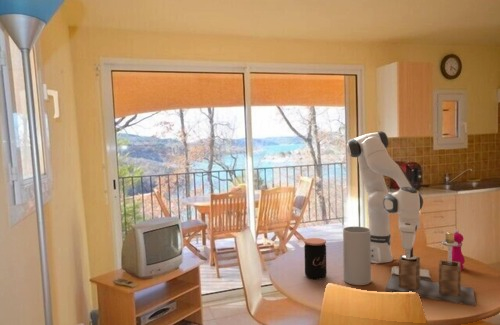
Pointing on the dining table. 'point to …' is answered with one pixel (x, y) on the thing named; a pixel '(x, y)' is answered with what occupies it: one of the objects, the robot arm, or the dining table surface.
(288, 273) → the dining table surface
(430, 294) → the grey holder stand
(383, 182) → the robot arm
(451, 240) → the plunger right
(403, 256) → the plunger left
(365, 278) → the cylinder vase
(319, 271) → the coffee jar
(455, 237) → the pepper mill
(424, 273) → the washcloth
